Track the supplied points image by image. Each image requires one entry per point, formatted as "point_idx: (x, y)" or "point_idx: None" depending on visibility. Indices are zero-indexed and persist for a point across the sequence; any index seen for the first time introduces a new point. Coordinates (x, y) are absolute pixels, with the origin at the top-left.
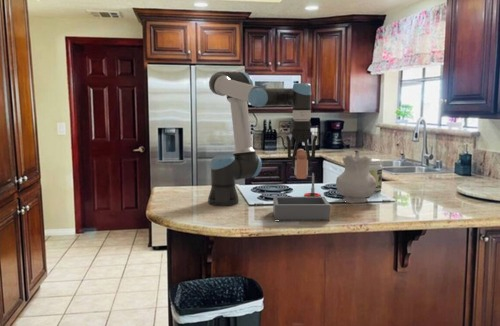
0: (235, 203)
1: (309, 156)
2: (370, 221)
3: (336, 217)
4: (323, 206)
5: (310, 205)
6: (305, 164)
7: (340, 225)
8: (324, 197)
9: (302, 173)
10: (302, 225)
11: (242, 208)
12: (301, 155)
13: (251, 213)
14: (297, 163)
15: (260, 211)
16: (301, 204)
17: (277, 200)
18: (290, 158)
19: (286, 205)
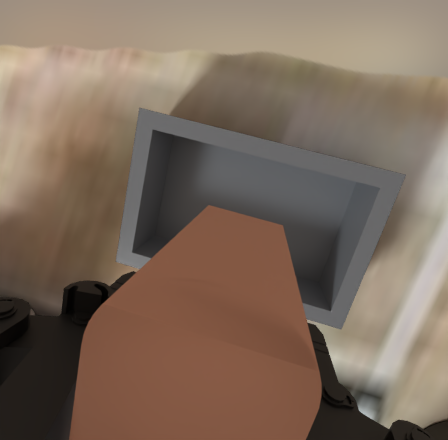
0: (433, 428)
1: (55, 341)
2: (29, 80)
3: (126, 159)
4: (171, 116)
5: (229, 130)
6: (186, 244)
7: (147, 55)
8: (119, 247)
9: (236, 224)
10: (287, 89)
11: (425, 370)
12: (221, 339)
13: (419, 298)
14: (294, 279)
15: (372, 312)
16: (267, 154)
17: (351, 259)
18: (381, 432)
19: (346, 160)
